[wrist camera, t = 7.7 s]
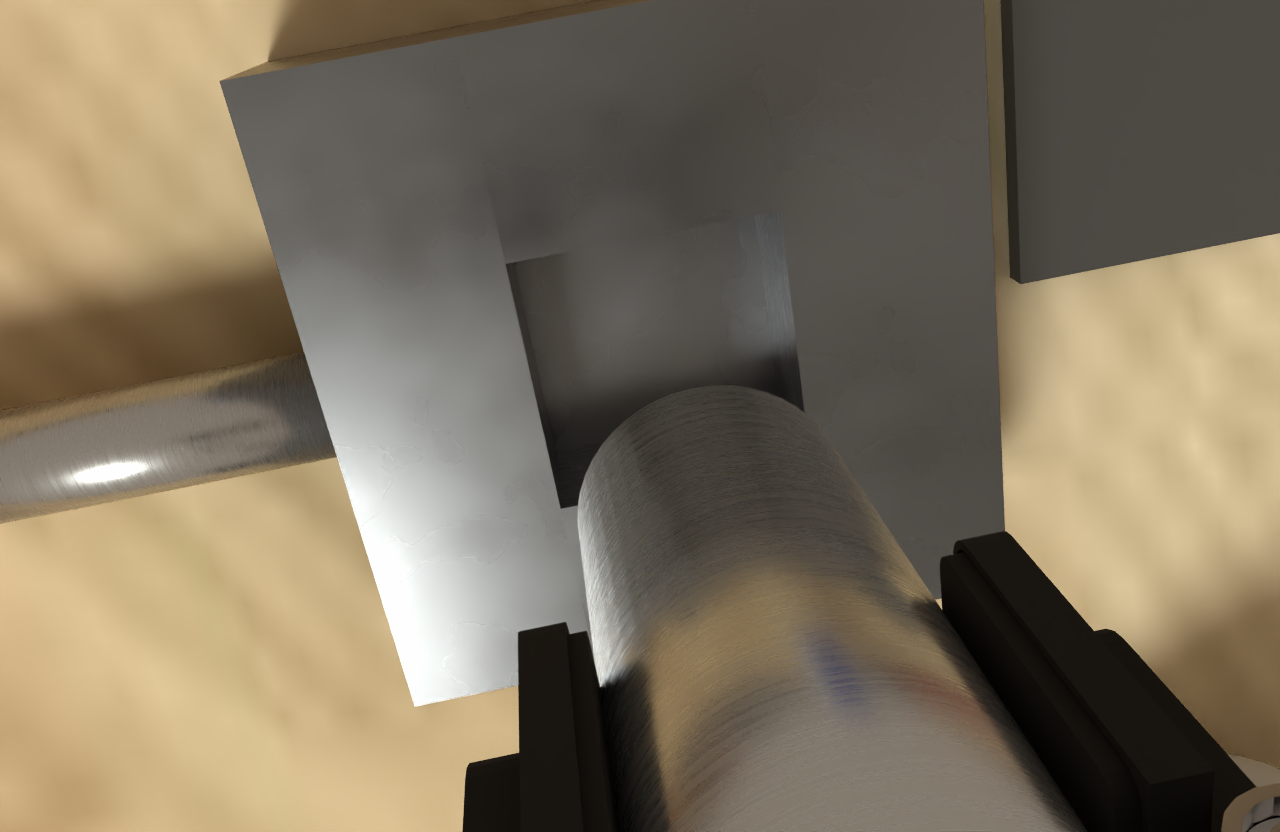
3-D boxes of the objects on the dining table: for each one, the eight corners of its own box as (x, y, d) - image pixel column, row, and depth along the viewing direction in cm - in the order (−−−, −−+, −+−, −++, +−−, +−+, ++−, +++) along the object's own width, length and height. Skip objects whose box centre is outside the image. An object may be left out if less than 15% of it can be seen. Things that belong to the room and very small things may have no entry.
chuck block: (908, -58, 24) (980, -61, 20) (945, 506, 29) (1006, 584, 25) (-207, 150, 23) (-346, 186, 19) (48, 688, 28) (-22, 796, 25)
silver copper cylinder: (831, 360, 15) (1645, 1381, 4) (856, 596, 17) (1497, 1778, 6) (552, 416, 15) (670, 1614, 4) (604, 650, 17) (785, 1960, 6)
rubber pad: (1353, -141, 24) (1372, -144, 23) (1323, 215, 27) (1339, 221, 26) (998, -75, 24) (1009, -76, 23) (1010, 277, 27) (1021, 284, 26)
